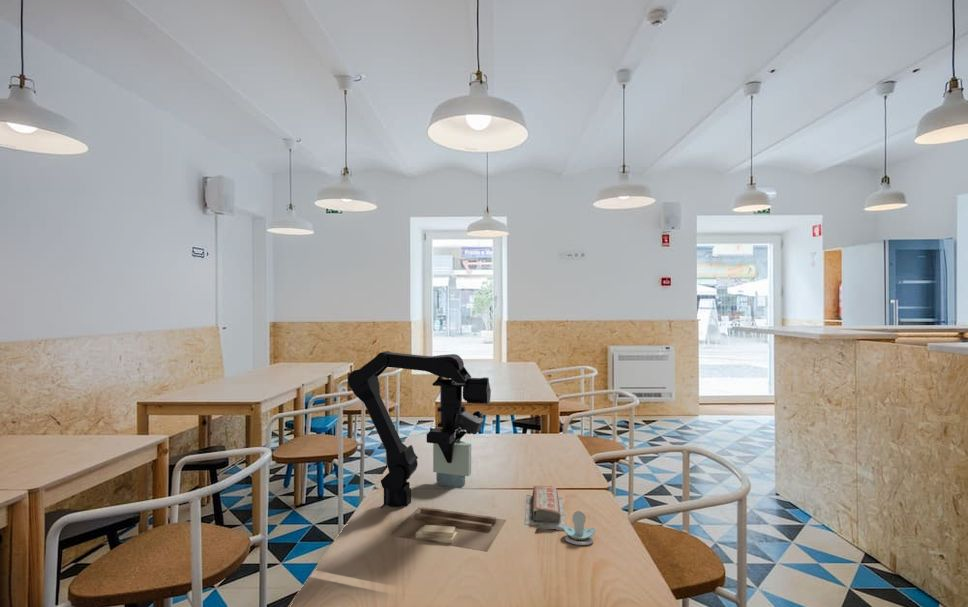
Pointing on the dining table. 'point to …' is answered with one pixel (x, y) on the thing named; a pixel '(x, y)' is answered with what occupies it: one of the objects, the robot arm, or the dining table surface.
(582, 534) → the pacifier
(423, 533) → the offcut upper
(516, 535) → the dining table surface
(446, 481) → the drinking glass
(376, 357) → the robot arm
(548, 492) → the packaged product
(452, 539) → the offcut lower
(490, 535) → the rack
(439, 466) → the green board
